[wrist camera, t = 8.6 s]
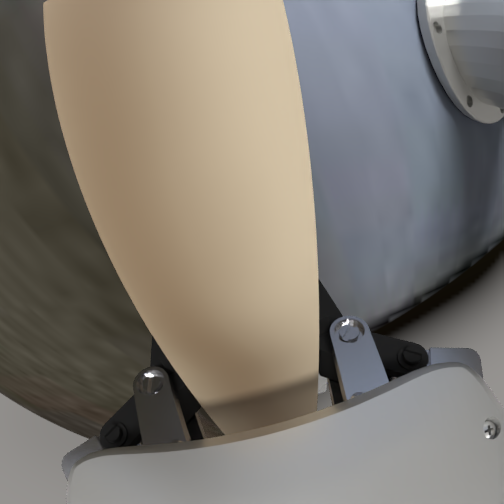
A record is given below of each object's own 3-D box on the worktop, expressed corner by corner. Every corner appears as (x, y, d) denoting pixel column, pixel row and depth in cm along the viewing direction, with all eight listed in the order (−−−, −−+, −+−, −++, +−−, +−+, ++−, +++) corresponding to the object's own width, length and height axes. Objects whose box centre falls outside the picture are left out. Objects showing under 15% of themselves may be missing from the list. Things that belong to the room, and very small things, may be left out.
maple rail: (229, 14, 6) (267, -57, 2) (293, 393, 18) (313, 450, 14) (112, 44, 6) (43, 2, 2) (240, 407, 18) (254, 466, 14)
